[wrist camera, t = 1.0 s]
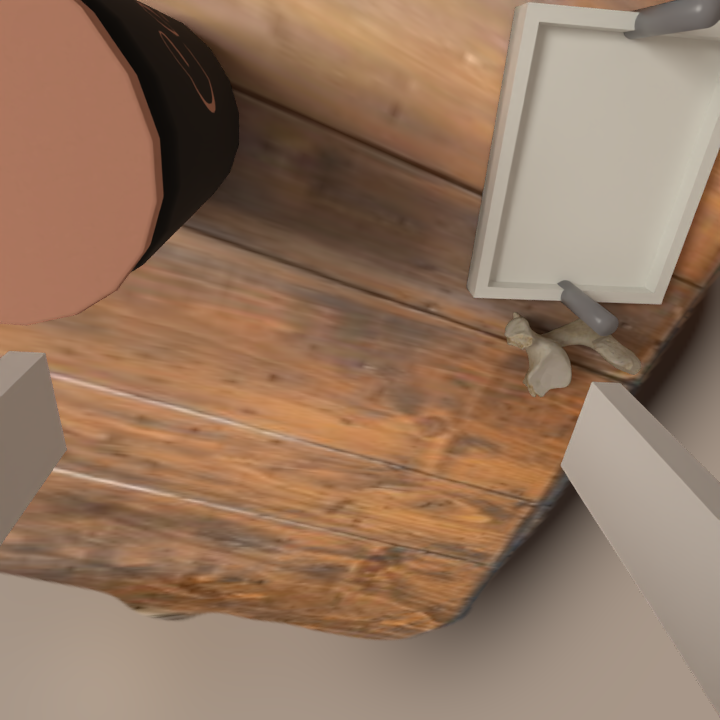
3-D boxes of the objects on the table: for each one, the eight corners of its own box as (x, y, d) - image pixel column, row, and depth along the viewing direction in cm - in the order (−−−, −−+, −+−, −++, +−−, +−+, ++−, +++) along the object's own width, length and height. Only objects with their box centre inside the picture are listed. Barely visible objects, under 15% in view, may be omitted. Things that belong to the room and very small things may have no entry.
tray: (516, 1, 28) (571, -23, 22) (741, 22, 29) (853, 4, 23) (465, 291, 36) (495, 333, 30) (643, 297, 37) (707, 339, 31)
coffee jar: (275, 87, 29) (223, 89, 13) (195, 240, 33) (83, 381, 17) (92, -43, 26) (-263, -246, 10) (27, 144, 30) (-302, 209, 14)
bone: (466, 387, 38) (546, 392, 29) (478, 305, 39) (560, 282, 29) (563, 403, 40) (667, 412, 31) (572, 324, 41) (679, 309, 31)
